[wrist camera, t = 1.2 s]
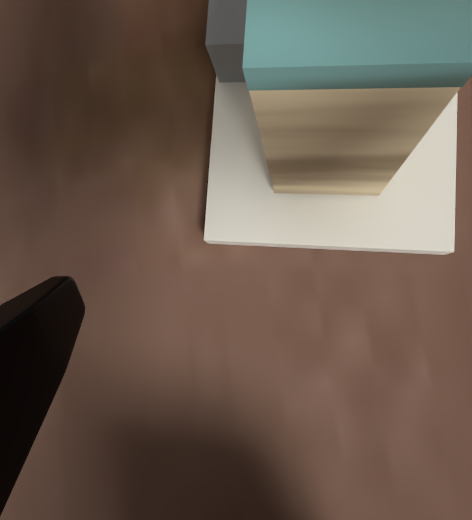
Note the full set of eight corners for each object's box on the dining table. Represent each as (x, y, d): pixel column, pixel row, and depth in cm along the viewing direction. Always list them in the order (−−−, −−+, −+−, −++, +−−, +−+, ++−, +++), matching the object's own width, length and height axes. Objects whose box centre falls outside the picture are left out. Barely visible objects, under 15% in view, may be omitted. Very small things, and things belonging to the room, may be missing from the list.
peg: (379, 196, 19) (481, 61, 8) (273, 193, 20) (242, 68, 9) (383, 94, 20) (484, -157, 9) (279, 96, 20) (256, -133, 10)
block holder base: (445, 254, 20) (485, 242, 16) (208, 243, 22) (186, 229, 17) (450, -1, 21) (489, -79, 17) (226, 10, 23) (209, -57, 19)
